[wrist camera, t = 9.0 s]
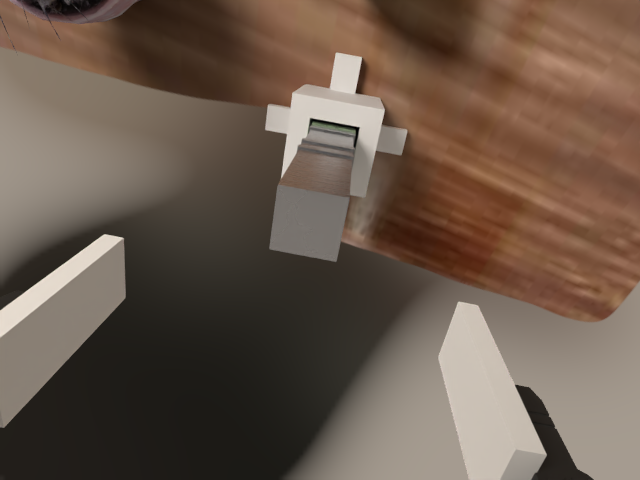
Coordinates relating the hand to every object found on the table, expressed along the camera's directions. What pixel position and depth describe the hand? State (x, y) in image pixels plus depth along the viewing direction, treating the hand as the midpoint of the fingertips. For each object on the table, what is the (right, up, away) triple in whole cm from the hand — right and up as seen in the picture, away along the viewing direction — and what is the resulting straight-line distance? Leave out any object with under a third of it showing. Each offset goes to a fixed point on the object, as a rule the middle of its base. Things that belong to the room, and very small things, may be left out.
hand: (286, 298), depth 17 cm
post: (+3, +13, +30) cm, 33 cm away
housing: (+3, +16, +36) cm, 40 cm away
